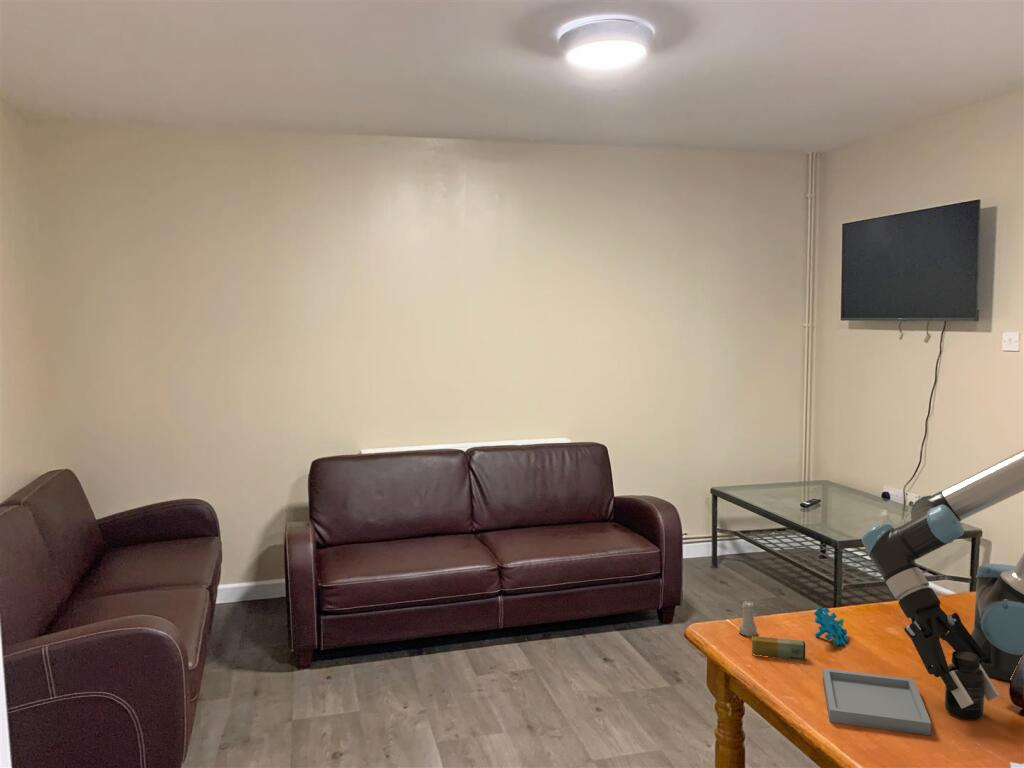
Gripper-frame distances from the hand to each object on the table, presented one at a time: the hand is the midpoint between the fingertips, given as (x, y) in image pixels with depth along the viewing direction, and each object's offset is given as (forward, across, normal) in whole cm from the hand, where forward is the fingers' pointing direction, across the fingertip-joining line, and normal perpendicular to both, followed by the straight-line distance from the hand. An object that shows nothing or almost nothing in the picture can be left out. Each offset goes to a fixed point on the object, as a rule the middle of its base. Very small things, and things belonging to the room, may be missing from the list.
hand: (980, 701), depth 155 cm
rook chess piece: (-33, +15, -39) cm, 53 cm away
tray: (-6, +14, -12) cm, 20 cm away
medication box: (-24, +16, -30) cm, 42 cm away
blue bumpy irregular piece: (-25, -1, -31) cm, 40 cm away
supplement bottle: (+1, 0, -6) cm, 6 cm away
